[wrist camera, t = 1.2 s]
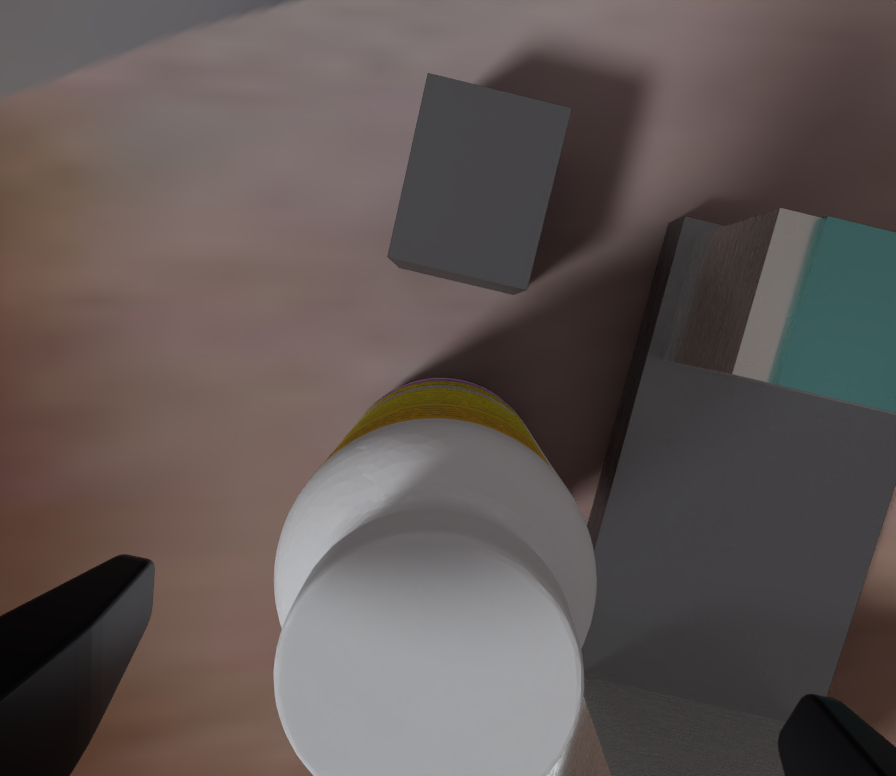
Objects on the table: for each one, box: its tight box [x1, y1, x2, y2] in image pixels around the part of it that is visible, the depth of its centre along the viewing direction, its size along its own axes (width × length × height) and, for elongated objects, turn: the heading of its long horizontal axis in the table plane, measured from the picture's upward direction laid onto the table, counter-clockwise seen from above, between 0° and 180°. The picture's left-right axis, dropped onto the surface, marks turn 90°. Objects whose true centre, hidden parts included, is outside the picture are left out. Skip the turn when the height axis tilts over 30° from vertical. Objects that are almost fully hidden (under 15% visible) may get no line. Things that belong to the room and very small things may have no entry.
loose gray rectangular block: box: [388, 73, 572, 295], centre depth 19 cm, size 5×4×4 cm
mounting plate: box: [546, 208, 896, 776], centre depth 19 cm, size 20×9×7 cm, turn 167°
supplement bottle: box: [274, 378, 597, 776], centre depth 16 cm, size 7×7×13 cm
